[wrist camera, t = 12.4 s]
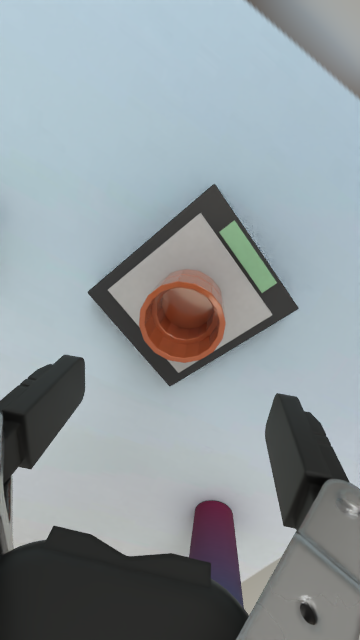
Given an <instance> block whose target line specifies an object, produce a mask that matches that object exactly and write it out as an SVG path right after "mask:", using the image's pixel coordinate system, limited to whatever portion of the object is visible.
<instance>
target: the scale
mask: <svg viewBox="0 0 360 640" xmlns="http://www.w3.org/2000/svg"><path fill="white" fill-rule="evenodd" d="M183 269H190V270H197V271H201V272H202V273H204V274H206V275H207V276H209V277H211V278H212V279H213V280H214V281H215V283H216V284H217V285H218V287H219V288H220V290H221V293H222V297H223V301H224V310H225V320H226V325H225V330H224V335H223V339H222V341H221V342H220V344H219V345H218V346H217V348H216V349H215V351H214V352H212V353H211V354H209V355H208V356H206V357H204V358H203V359H201V360H198V361H192V362H187V363H182V362H176V361H170V360H167V359H165V358H164V357H162V356H160V355H158V354H156V353H155V352H154V351H153V350H152V349H151V348H150V347H149V345H148V344H147V343H146V342H145V341H144V338H143V336H142V333H141V330H140V327H139V318H140V309H141V307H142V305H143V303H144V301H145V300H146V298H147V296H148V295H149V294H150V293H151V291H152V290H153V289H154V288H155V287H156V286H157V284H158V283H159V282H160V281H161V280H162V279H164V278H165V277H166V276H167V275H169V274H170V273H172V272H175V271H179V270H183ZM88 294H89V295H90V296H91V297H92V298H93V299H94V301H95V302H96V303H97V304H98V305H99V306H100V307H101V309H102V310H103V311H104V312H105V313H106V314H107V315H108V316H109V318H110V319H111V320H112V321H113V322H114V323H115V324H116V326H117V327H118V328H119V329H120V330H121V331H122V332H123V334H124V335H125V336H126V337H127V338H128V339H129V340H130V342H131V343H132V344H133V345H134V346H135V347H136V348H137V350H138V351H139V352H140V353H141V354H142V355H143V356H144V358H145V359H146V360H147V361H148V362H149V363H150V364H151V366H152V367H153V368H154V369H155V370H156V371H157V372H158V374H159V375H160V376H161V377H162V378H163V379H164V380H165V382H166V383H167V384H168V385H169V386H171V385H173V384H175V383H176V382H178V381H180V380H181V379H183V378H185V377H186V376H188V375H190V374H191V373H193V372H195V371H196V370H198V369H200V368H201V367H203V366H205V365H206V364H208V363H210V362H211V361H213V360H214V359H216V358H218V357H219V356H221V355H223V354H224V353H226V352H228V351H229V350H231V349H233V348H234V347H236V346H238V345H239V344H241V343H243V342H244V341H246V340H248V339H249V338H251V337H253V336H254V335H256V334H258V333H259V332H261V331H262V330H264V329H266V328H267V327H269V326H271V325H272V324H274V323H276V322H277V321H279V320H281V319H282V318H284V317H286V316H287V315H289V314H291V313H292V312H294V311H296V310H297V309H298V306H297V305H296V304H295V302H294V301H293V299H292V298H291V296H290V295H289V293H288V292H287V290H286V289H285V287H284V286H283V284H282V283H281V281H280V280H279V278H278V277H277V275H276V274H275V272H274V271H273V269H272V268H271V266H270V265H269V263H268V262H267V261H266V259H265V258H264V256H263V255H262V253H261V252H260V250H259V249H258V247H257V246H256V244H255V243H254V241H253V240H252V238H251V237H250V235H249V234H248V232H247V231H246V229H245V228H244V226H243V225H242V223H241V222H240V221H239V219H238V218H237V216H236V215H235V213H234V212H233V210H232V209H231V207H230V206H229V204H228V203H227V201H226V200H225V198H224V197H223V195H222V194H221V192H220V191H219V189H218V188H217V186H216V185H215V184H213V185H212V186H211V187H210V188H209V189H207V190H206V191H205V192H204V193H203V194H202V195H200V196H199V197H198V198H197V199H196V200H195V201H193V202H192V203H191V204H190V205H189V206H188V207H186V208H185V209H184V210H183V211H182V212H181V213H179V214H178V215H177V216H176V217H175V218H174V219H172V220H171V221H170V222H169V223H168V224H167V225H165V226H164V227H163V228H162V229H161V230H160V231H158V232H157V233H156V234H155V235H154V236H152V237H151V238H150V239H149V240H148V241H147V242H145V243H144V244H143V245H142V246H141V247H140V248H138V249H137V250H136V251H135V252H134V253H133V254H131V255H130V256H129V257H128V258H127V259H126V260H124V261H123V262H122V263H121V264H120V265H119V266H117V267H116V268H115V269H114V270H113V271H112V272H110V273H109V274H108V275H107V276H106V277H105V278H103V279H102V280H101V281H100V282H99V283H98V284H96V285H95V286H94V287H93V288H92V289H90V290H89V291H88Z"/></svg>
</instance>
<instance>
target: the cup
mask: <svg viewBox="0 0 360 640" xmlns="http://www.w3.org/2000/svg"><path fill="white" fill-rule="evenodd" d="M189 558H193V559H197V560H201V561H206V562H210V563H211V579H213V580H214V581H216V582H217V583H219V584H220V585H221V586H223V587H224V588H225V589H226V590H228V591H229V592H230V593H231V594H232V595H233V596H234V597H235V598H236V599H237V601H238V602H239V603H240V604H241V606H242V607H243V598H242V589H241V581H240V572H239V564H238V555H237V547H236V538H235V529H234V521H233V513H232V511H231V509H230V508H229V507H228V506H227V505H225V504H223V503H221V502H218V501H205V502H202V503H200V504H199V505H198V506H197V507H196V509H195V515H194V523H193V531H192V538H191V546H190V554H189ZM243 608H244V607H243Z"/></svg>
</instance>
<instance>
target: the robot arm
mask: <svg viewBox="0 0 360 640" xmlns="http://www.w3.org/2000/svg"><path fill="white" fill-rule="evenodd" d="M84 392H85V362H84V359H83V358H81V357H75V356H70V355H63V356H62V357H61V358H60V359H59V360H58V361H56V362H55V363H54V364H53V365H52V364H49V365H46V366H44V367H42V368H40V369H38V370H36V371H35V372H34V373H33V374H31V375H30V376H29V377H28V379H25V380H24V381H23V382H22V383H21V384H20V386H19V385H18V386H17V387H16V388H15V389H14V390H12V391H11V392H10V393H9V394H8V395H6V396H5V397H4V398H3V399H2V400H1V401H0V640H358V639H359V634H360V489H359V488H358V487H356V486H355V485H353V484H351V483H350V482H349V480H348V478H347V476H346V474H345V472H344V470H343V468H342V466H341V464H340V462H339V460H338V458H337V456H336V454H335V452H334V450H333V448H332V447H331V444H330V442H329V440H328V438H327V437H326V433H325V431H324V429H323V427H322V425H321V423H320V422H319V421H318V420H317V419H316V418H315V417H314V416H313V415H312V414H311V413H310V412H305V411H303V408H302V406H301V404H300V401H299V399H298V398H297V397H295V396H289V395H284V394H278V393H277V394H276V395H275V397H274V400H273V404H272V407H271V410H270V413H269V417H268V420H267V423H266V429H265V439H266V444H267V449H268V454H269V458H270V463H271V468H272V473H273V478H274V482H275V487H276V492H277V497H278V501H279V506H280V511H281V516H282V521H283V525H284V526H286V527H291V528H295V529H296V530H297V531H296V533H295V534H294V536H293V538H292V540H291V541H290V543H289V545H288V547H287V549H286V550H285V552H284V554H283V556H282V558H281V559H280V561H279V563H278V565H277V567H276V569H275V570H274V572H273V574H272V576H271V577H270V579H269V581H268V583H267V585H266V586H265V588H264V590H263V592H262V594H261V596H260V597H259V599H258V601H257V603H256V605H255V606H254V608H253V610H252V612H251V613H250V615H248V614H247V612H246V611H245V610H244V608H243V607H242V606H241V604H240V603H239V602H238V601H237V599H236V598H235V597H234V596H233V595H232V594H231V593H230V592H229V591H228V590H226V589H225V588H224V587H223V586H221V585H220V584H219V583H217V582H216V581H214V580H213V579H211V563H210V562H206V561H201V560H197V559H193V558H189V557H184V556H180V555H176V554H172V553H169V554H157V555H144V556H125V555H123V554H122V553H120V552H118V551H117V550H115V549H114V548H112V547H110V546H109V545H107V544H106V543H104V542H102V541H101V540H99V539H97V538H96V537H94V536H93V535H91V534H87V533H82V532H78V531H74V530H70V529H66V528H61V527H57V526H53V528H52V530H51V532H50V534H49V536H48V538H47V540H41V541H37V542H32V543H28V544H25V545H22V546H20V547H17V548H15V549H14V546H13V479H12V474H13V473H14V471H15V470H16V469H17V468H18V467H22V468H27V469H32V467H33V466H34V465H35V463H36V462H37V461H38V459H39V458H40V457H41V455H42V454H43V453H44V451H45V450H46V449H47V447H48V446H49V445H50V443H51V442H52V441H53V439H54V438H55V437H56V435H57V434H58V432H59V431H60V430H61V428H62V427H63V426H64V424H65V423H66V422H67V420H68V419H69V418H70V416H71V415H72V414H73V412H74V411H75V410H76V408H77V407H78V406H79V404H80V403H81V401H82V399H83V396H84Z"/></svg>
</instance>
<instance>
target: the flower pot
mask: <svg viewBox="0 0 360 640" xmlns="http://www.w3.org/2000/svg"><path fill="white" fill-rule="evenodd" d="M225 325H226V320H225V310H224V301H223V297H222V293H221V290H220V288H219V287H218V285H217V284H216V283H215V281H214V280H213V279H212V278H211V277H209V276H207V275H206V274H204V273H202V272H201V271H197V270H190V269H183V270H179V271H175V272H172V273H170V274H169V275H167V276H166V277H165V278H164V279H162V280H161V281H160V282H159V283H158V284H157V286H156V287H155V288H154V289H153V290H152V291H151V293H150V294H149V295H148V296H147V298H146V300H145V301H144V303H143V305H142V307H141V309H140V318H139V327H140V330H141V333H142V336H143V338H144V341H145V342H146V343H147V344H148V345H149V347H150V348H151V349H152V350H153V351H154V352H155V353H156V354H158V355H160V356H162V357H164V358H165V359H167V360H170V361H176V362H182V363H187V362H192V361H198V360H201V359H203V358H204V357H206V356H208V355H209V354H211V353H212V352H214V351H215V349H216V348H217V346H218V345H219V344H220V342H221V341H222V339H223V335H224V330H225Z"/></svg>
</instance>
